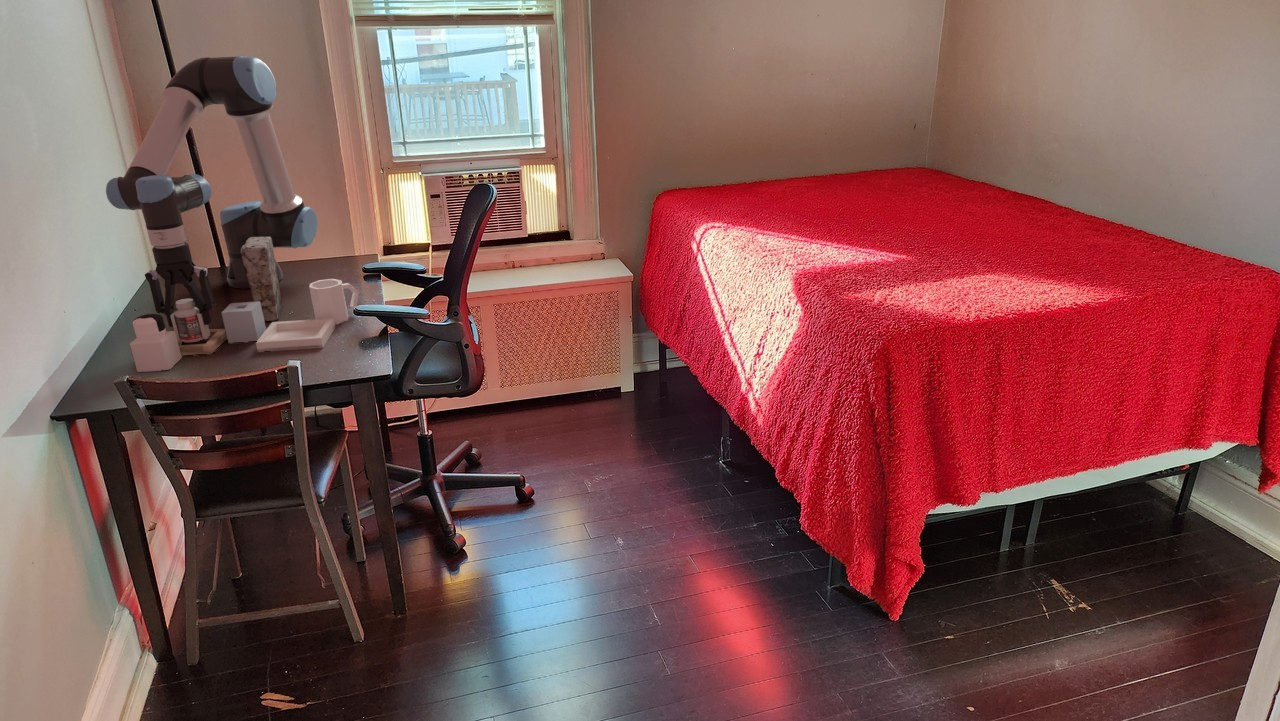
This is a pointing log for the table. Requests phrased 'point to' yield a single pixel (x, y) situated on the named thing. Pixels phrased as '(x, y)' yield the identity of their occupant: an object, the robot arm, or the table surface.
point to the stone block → (262, 275)
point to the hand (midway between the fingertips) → (193, 337)
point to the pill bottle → (188, 321)
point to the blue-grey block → (244, 321)
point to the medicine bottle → (154, 344)
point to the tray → (296, 335)
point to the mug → (331, 299)
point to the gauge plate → (214, 341)
